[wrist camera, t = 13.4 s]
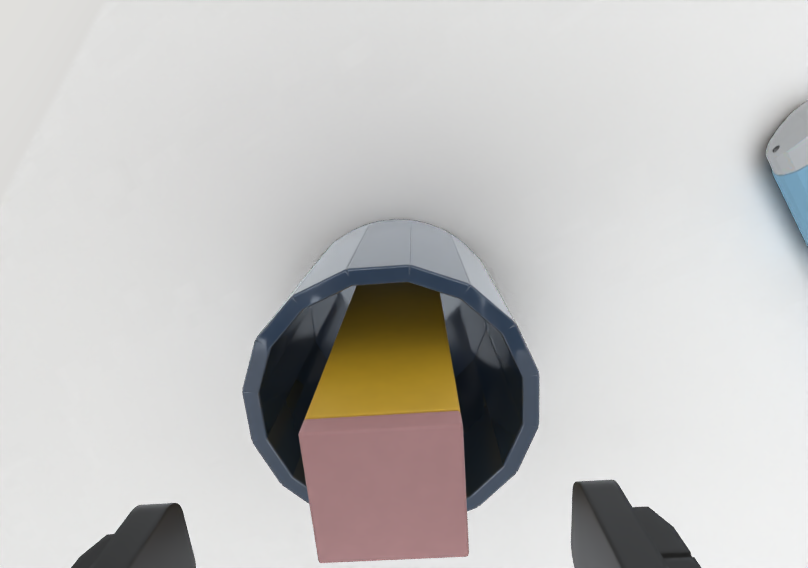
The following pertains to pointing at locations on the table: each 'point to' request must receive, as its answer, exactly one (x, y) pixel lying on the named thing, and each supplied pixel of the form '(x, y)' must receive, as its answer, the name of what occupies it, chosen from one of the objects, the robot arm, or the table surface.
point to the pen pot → (467, 335)
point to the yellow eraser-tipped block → (387, 434)
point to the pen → (792, 164)
